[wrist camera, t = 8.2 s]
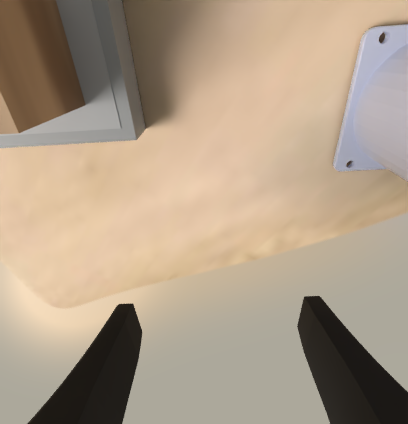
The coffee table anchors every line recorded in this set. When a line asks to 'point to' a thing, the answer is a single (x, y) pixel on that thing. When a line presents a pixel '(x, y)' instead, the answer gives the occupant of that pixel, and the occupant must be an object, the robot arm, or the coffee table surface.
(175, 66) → the coffee table surface
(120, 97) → the plinth
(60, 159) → the coffee table surface
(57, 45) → the walnut block
